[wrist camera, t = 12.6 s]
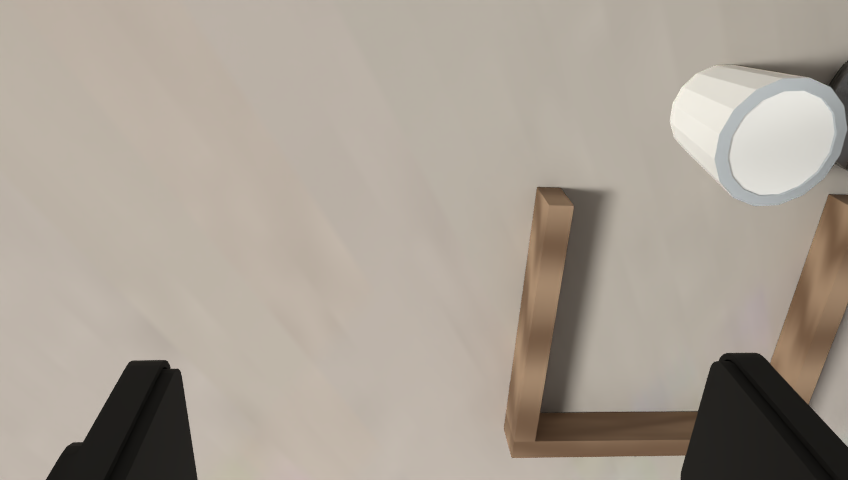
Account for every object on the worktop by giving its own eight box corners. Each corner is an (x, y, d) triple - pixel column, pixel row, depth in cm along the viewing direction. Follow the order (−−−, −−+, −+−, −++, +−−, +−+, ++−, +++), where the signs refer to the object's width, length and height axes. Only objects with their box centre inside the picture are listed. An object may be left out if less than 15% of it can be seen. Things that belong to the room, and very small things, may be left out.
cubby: (537, 187, 40) (549, 205, 37) (850, 194, 42) (883, 212, 39) (503, 428, 48) (511, 457, 46) (766, 426, 50) (789, 453, 48)
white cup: (787, 124, 40) (865, 159, 33) (687, 185, 41) (745, 231, 34) (746, 29, 37) (823, 48, 31) (641, 98, 38) (694, 130, 32)
